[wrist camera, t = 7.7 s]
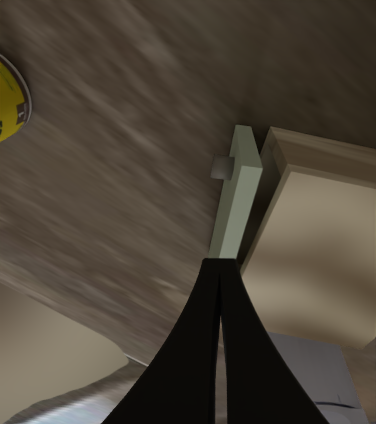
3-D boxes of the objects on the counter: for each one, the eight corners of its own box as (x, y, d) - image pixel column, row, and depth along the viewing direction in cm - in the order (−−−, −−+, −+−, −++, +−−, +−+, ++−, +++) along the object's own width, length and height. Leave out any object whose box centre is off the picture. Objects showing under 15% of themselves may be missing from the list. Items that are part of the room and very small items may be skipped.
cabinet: (332, 282, 26) (361, 349, 21) (220, 260, 25) (221, 322, 20) (429, 160, 18) (513, 218, 13) (270, 126, 18) (291, 171, 13)
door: (218, 258, 25) (218, 317, 20) (195, 255, 25) (189, 312, 20) (250, 126, 18) (262, 168, 13) (217, 122, 18) (216, 162, 13)
